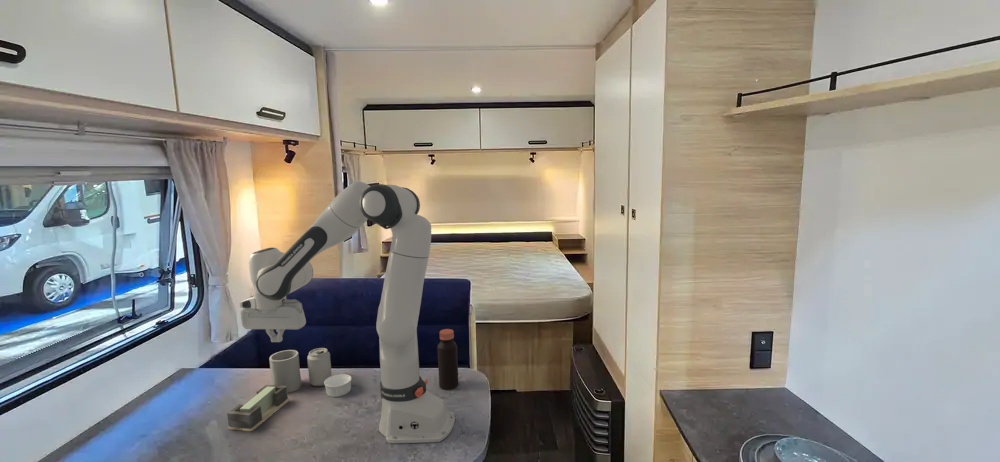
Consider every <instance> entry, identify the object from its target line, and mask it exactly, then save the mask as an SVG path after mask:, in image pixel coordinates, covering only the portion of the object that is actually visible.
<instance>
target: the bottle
mask: <svg viewBox="0 0 1000 462" xmlns="http://www.w3.org/2000/svg"><path fill="white" fill-rule="evenodd" d="M454 332H455V331H454V330H453V329H450V328H444V329H441V330H440V331H439V340H440V342H439V343H438V344H437V363H438V367H437V368H438V385H439V388H440V389H442V390H445V391H450V390H454V389H456V388H457V387H458V386H459V365H458V364H459V363H458V345H457V343H456V341H454V339H455V338H454V337H455V333H454Z"/></svg>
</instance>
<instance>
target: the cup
mask: <svg viewBox="0 0 1000 462" xmlns="http://www.w3.org/2000/svg"><path fill="white" fill-rule="evenodd" d="M268 360H269V368H270V369H269V370H270V378H271V385H277V386H287V394H290V393H293V392H294V391H297V390H298V389H299V388H301V386H302V377H301V368H300V357H299V352H298V351H297V350H296V349H287V350H286V349H285V350H280V351H278V352H275V353H272V354H271V355H270V356H269V358H268Z"/></svg>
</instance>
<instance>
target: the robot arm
mask: <svg viewBox="0 0 1000 462" xmlns="http://www.w3.org/2000/svg"><path fill="white" fill-rule="evenodd" d="M420 209H421V202H420V198H419V196H418V195H417V194H416V193H415V192H414V191H413V190H412V189H410V188H407V187H404V186H403V187H402V186H400V185H396V184H384V183H383V184H381V183H378V184H374V185H371V186H370V184H368V183H365V182H363V181H355V182H352V183H351V184H349V185H348V186H347V187H345V188H344V189H343V190H341V191H340V192H339V193H338V194H337V195H336V196H335V197H334V198H333V199H332V200H331V201H330V203H328V205H327V206H326V207H325V208H324V210H323V211H322V212H321V213H320V214H319V216H318V217H317V218H316V219H315V220H314V222H313V223H312V224H311V225H310V227H309V228H307V230H306V231H305V232H304V233H303V234H302V235H301V236H300V237H299V238H298V239H297V240H296V241H295V242H294V243H293V244H292V245H291V247H289V249H287V251H285V252H282V251H280V249H278V248H276V247H267V248H263V249H260V250H256V251H254V252H252V253H251V254H250V255H249V258H248V260H249V261H248V266H249V267H248V268H249V269H248V270H249V276H250V281H251V283H252V287H253V289H252V294H253V295H251V296H249V297H248V298H246V299H244V300H242V301H240V302H239V308H240V309H241V310H240V320H241V321H240V322H241V326H242V327H243V329H244V330H265V333H266V334H267V335H268V336H269V338H270V342H271V343H281V342H282V341H283V335H284V332H285V331H286V330H300V329H303V327H305V325H306V324H307V320H306V316H305V312H304V309H303V304H302V302H300V301H299V300H297V299H293V298H292V299H290V298H289V299H287V296H288V295H289V294H291V293H293V292H295V291H297V290H299V289H301V288H302V287H304V286H306V285H308V283H310V282H311V281H312V279H313V276H314V269H313V265H312V264H311V262H310V261H312V259H314V258H315V257H316V256H318V255H319V254H320V253H322V252H324V251H326V250H328V249H330V248H333V247H334V246H337V245H339V244H342V243H343V242H345V241H347V240H348V239H349V238H351V237H352V236H353V235H355V233H357V232H358V231H359V229H361V228H362V226H363V225H364V224H365V223H366V222H367V221H370V222H372V223H374V224H376V225H378V226H379V227H382V228H383V229H384V230H391V234H392V238H391V242H390V247H389V248H390V249H389V254H388V259H387V264H386V270H385V274H384V279H383V286H382V291H381V297H380V301H379V306H378V309H377V317H376V323H375V325H376V326H375V327H376V332H377V335H378V337H379V339H378V341H379V364H380V377H381V378H380V379H381V380H380V382H379V384H380V385H379V390H380V392H379V393H380V398H381V414H380V419H379V420H380V421H379V425H378V430H379V432H380V433H381V435H383V436H384V437H385V440H386V442H387V443H388V444H411V443H413V444H415V443H417V444H418V443H420V444H421V443H439V442H442V441H443V440H445V438H447V437H448V436H449V435H450V433H452V430H453V429H454V426H455V422H456V418H455V413H454V412H453V411H451V410H447V405H446V402H445V400H444V399H443V398H442V397H440V396H438V395H437V394H435V393H434V392H432V390H430V389H428V388H427V384H428V382H429V381H428V378H425V380H423V379H422V376H421V374H420V361H419V345H418V331H417V330H418V322H419V316H420V310H421V306H422V305H421V304H422V297H423V289H424V284H425V283H424V282H425V277H426V272H427V267H428V262H429V257H430V253H431V245H432V243H431V242H432V224H431V221H429V220H428V219H427V218H426V217H424V216H423V215H421V214H419V213H420ZM274 330H275V331H276V333H277V334H276V333H275V331H274Z"/></svg>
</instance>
